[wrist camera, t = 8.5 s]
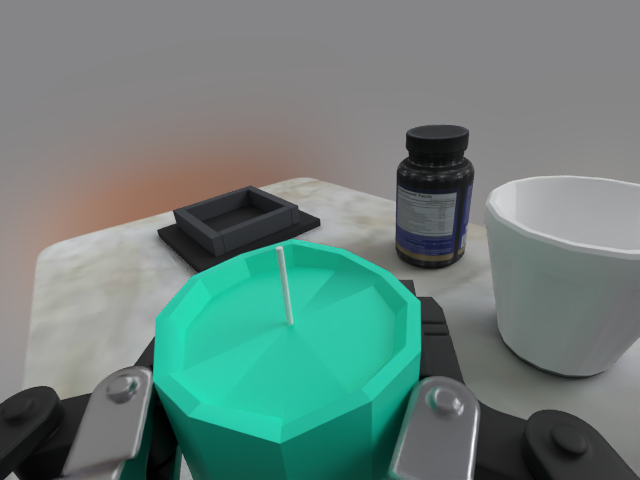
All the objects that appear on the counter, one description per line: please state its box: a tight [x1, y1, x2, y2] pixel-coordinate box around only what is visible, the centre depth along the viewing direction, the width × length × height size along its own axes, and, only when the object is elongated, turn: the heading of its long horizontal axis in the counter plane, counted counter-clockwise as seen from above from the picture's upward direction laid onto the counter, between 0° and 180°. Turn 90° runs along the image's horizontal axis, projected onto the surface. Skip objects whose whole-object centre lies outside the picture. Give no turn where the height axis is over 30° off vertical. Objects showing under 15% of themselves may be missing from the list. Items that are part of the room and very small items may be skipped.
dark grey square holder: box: [157, 186, 320, 273], centre depth 40 cm, size 14×12×3 cm
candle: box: [153, 239, 421, 480], centre depth 10 cm, size 6×6×12 cm
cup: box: [484, 176, 640, 378], centre depth 21 cm, size 10×10×9 cm
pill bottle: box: [396, 125, 474, 268], centre depth 31 cm, size 6×6×11 cm
